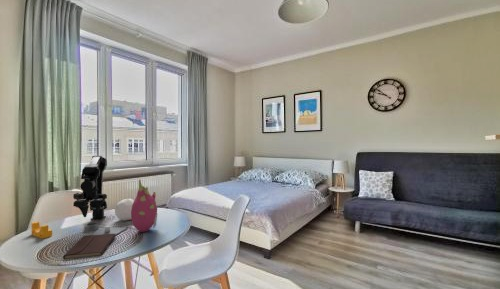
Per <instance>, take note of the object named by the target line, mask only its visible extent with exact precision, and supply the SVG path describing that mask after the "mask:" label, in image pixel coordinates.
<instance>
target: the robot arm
mask: <svg viewBox="0 0 500 289" xmlns="http://www.w3.org/2000/svg"><path fill="white" fill-rule="evenodd" d="M107 166H108V160H107V158H106V157H104V156H102V155H93V156H92V158H91V160H90V162H89V164H86V165H85V166H84V167H83V168H82V171H81V177H80V179H81V180H83V182H81V183H80V185H79V187H80V189H81V191H82V192H81V193H79V192H76V193H73V196H72V197H73V199H74V201H73V207H75V208H78V209H79V211H81V214H82V217H83V218H86V217H87V216H88V212H89V210H90V211H92V215H91V216H92V217H91V218H90V220H93V221H94V220H95V221H100V220H103V219H105V218H106V217H107V215H105V210H106V209H107V208H108V202H107V201H106V199H108V195H107V194H106V193H103V184H104V183H103V182H104V180H103V178H104V171H105V170H106V169H107Z"/></svg>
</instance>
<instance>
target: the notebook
mask: <svg viewBox="0 0 500 289" xmlns="http://www.w3.org/2000/svg"><path fill="white" fill-rule="evenodd" d="M115 235H116V234H103V235H90V234H87V235H85V234H84V235H83V236H81V238H80V239H79V240H78V241H77V242H76V243H75V244H74V245H73V246H72V247H70V249H69V250H67V251H66V253H64V255H63V256H62V258H63V260H67V259H68V260H69V259H78V258H87V257H88V258H89V257H97V256H98V257H99V256H102V255H103V253H104V252H105V251H106V249H107V248H108V247H109V245H110V244H111V243H112V241H113V239H114V238H115V237H116V236H117V235H116V236H115Z"/></svg>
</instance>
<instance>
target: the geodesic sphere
mask: <svg viewBox="0 0 500 289" xmlns="http://www.w3.org/2000/svg"><path fill="white" fill-rule="evenodd" d="M134 200H135V199H133V198H125V199H121V200H120V201H119V202H117V204H116V205H115V207H114V215H115V216H116V218H117V219H118V220H121V221H123V222H125V221H130V220H132V219H131V209H132V205H133V202H134Z"/></svg>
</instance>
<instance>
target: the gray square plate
mask: <svg viewBox="0 0 500 289" xmlns="http://www.w3.org/2000/svg"><path fill="white" fill-rule="evenodd" d="M127 229H128V228H127V227H119V226H118V227H117V226H116V227H115V226H113V227H112V226H110V225H105V226H104V227H101V228H100V229H99V228H98V229H97V230H95V231H93V232H92V233H90V234H89V235H103V234H116V235H115V237H116V236H118V235H119V234H121V233H122V232H125V231H126V230H127Z"/></svg>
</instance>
